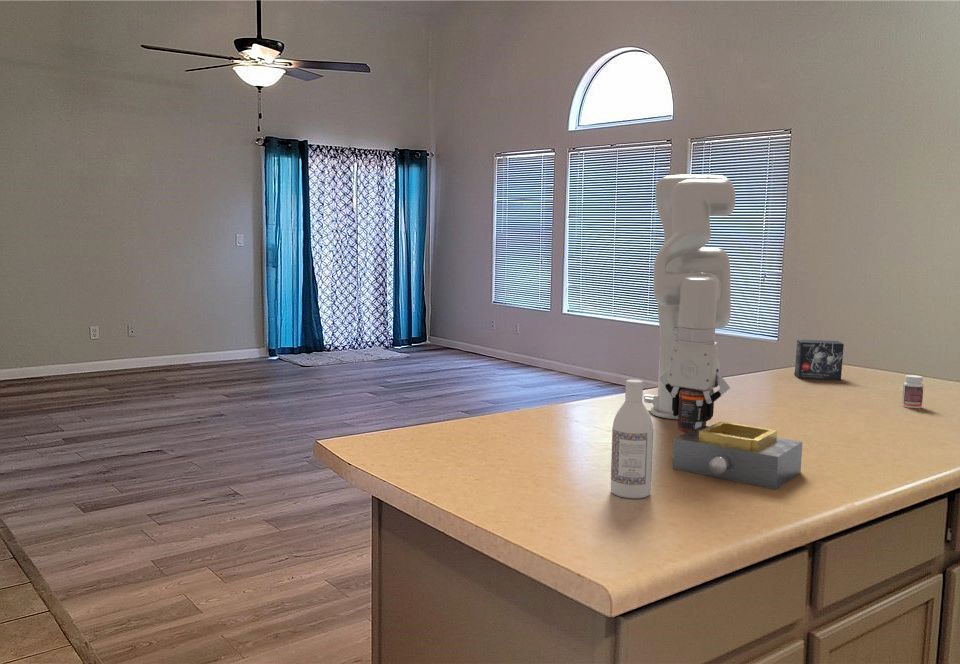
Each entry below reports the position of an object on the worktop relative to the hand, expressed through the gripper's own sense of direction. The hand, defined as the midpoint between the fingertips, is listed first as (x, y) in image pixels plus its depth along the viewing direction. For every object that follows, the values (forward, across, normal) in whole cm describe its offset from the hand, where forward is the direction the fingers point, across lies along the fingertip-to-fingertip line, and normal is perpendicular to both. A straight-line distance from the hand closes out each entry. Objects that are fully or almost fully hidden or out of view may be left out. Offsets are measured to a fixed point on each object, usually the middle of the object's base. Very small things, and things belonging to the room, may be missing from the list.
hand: (692, 416), depth 174 cm
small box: (+11, -4, +108) cm, 108 cm away
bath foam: (+5, +6, -38) cm, 39 cm away
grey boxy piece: (+5, +15, -14) cm, 21 cm away
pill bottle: (+9, +29, +78) cm, 83 cm away
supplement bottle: (+3, 0, 0) cm, 3 cm away
